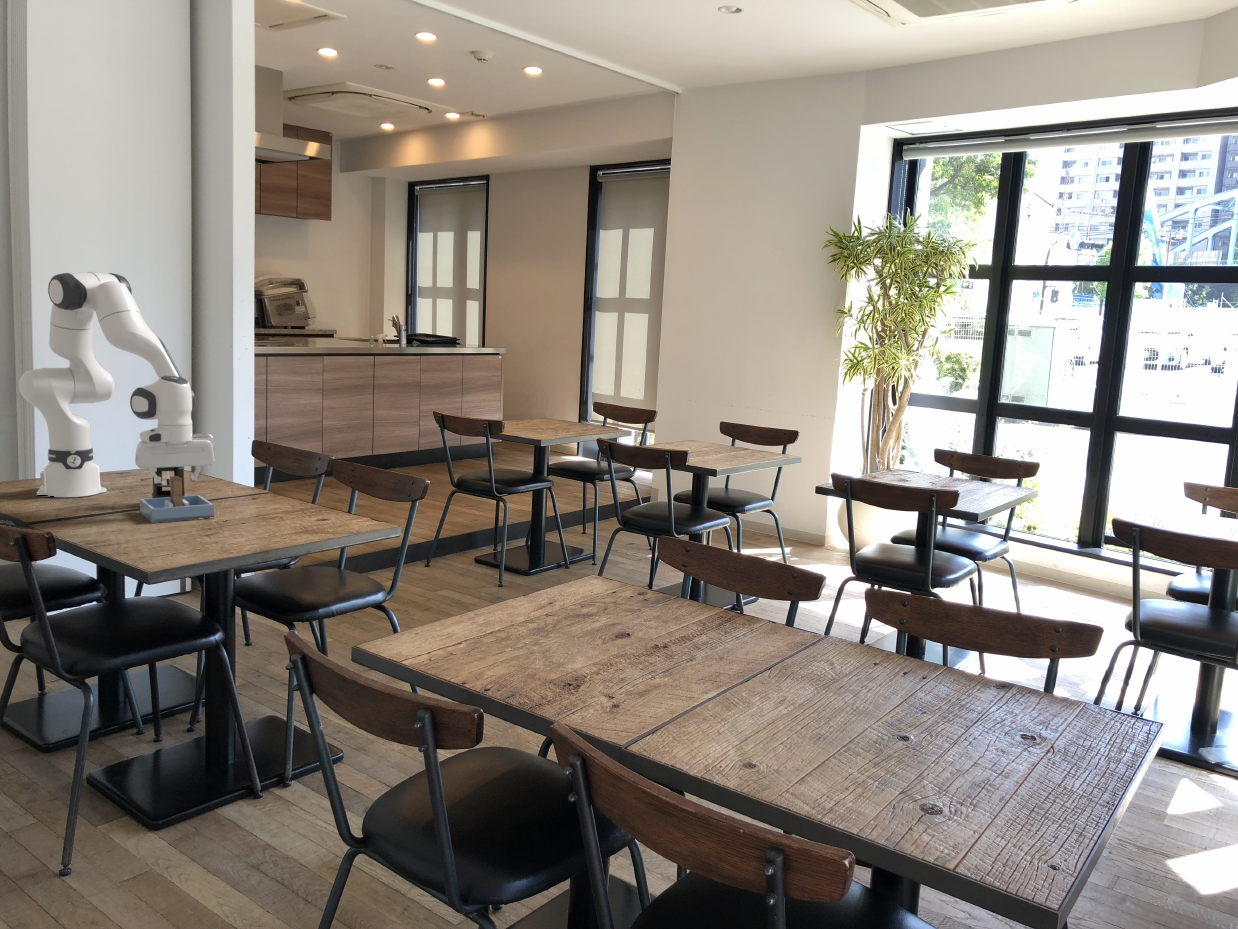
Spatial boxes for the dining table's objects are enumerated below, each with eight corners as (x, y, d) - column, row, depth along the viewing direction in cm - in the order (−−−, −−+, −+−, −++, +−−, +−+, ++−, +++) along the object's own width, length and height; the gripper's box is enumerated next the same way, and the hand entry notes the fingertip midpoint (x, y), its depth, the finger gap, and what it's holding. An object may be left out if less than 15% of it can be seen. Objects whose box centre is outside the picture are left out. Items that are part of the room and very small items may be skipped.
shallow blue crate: (140, 512, 265) (139, 499, 264) (199, 508, 275) (199, 495, 274) (152, 523, 253) (152, 509, 252) (214, 518, 262) (213, 504, 262)
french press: (143, 503, 278) (141, 427, 274) (171, 499, 286) (170, 425, 282) (167, 508, 272) (165, 431, 269) (196, 504, 280) (194, 429, 277)
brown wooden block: (170, 510, 265) (170, 476, 263) (178, 510, 266) (177, 476, 265) (175, 514, 261) (174, 479, 259) (182, 513, 262) (182, 478, 261)
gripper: (211, 431, 269) (211, 478, 271) (133, 433, 257) (134, 482, 259) (217, 434, 264) (217, 481, 267) (138, 436, 252) (139, 486, 254)
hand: (175, 482), depth 263 cm, fingers open, 8 cm apart
